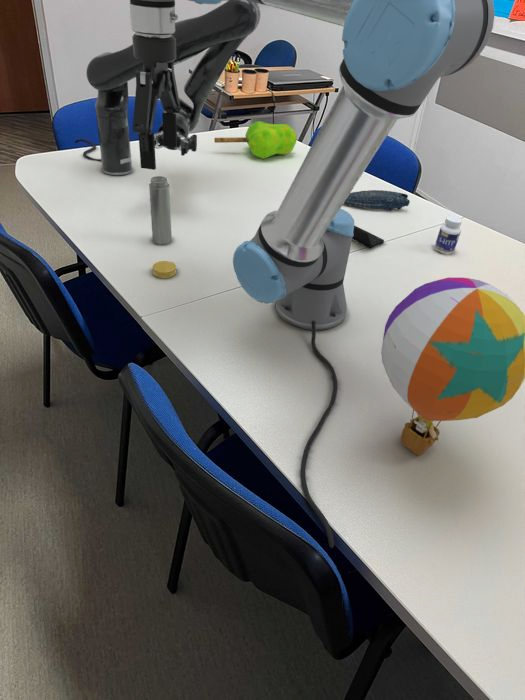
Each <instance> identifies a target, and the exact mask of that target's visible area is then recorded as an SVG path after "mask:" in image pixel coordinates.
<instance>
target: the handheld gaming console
mask: <svg viewBox="0 0 525 700" xmlns="http://www.w3.org/2000/svg"><path fill="white" fill-rule="evenodd" d="M353 234H354V236H353V238H352V241H355V242H356V243H358V244H360V245H361V246H364V247H366V248H368V249H369V250H371V249H373V248H375V247H378V246H381V245H383V244H385V243H384V242H385V239H383V238H381V237H379V236H377V235H375V234H373V233H372V232H369V231H367V230H365V229H362V228H361V227H358V226H357V225H355V224H354V230H353Z"/></svg>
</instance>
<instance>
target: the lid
mask: <svg viewBox="0 0 525 700" xmlns="http://www.w3.org/2000/svg"><path fill="white" fill-rule="evenodd" d="M152 274H153V275H154V277H156V278H158V279H171V278H173V277H175V276H176V274H177V265H176V264H175V263H174V262H172V261H168V260H161V261H157V262H155V263H154V264H152Z"/></svg>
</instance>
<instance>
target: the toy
mask: <svg viewBox="0 0 525 700" xmlns="http://www.w3.org/2000/svg"><path fill="white" fill-rule="evenodd" d="M381 343H382V344H381V351H380V355H381V363H382V366H383V369H384V371H385V374H386V375H387V378H388V380H389V382H390V384H391V386H392V388H393V389H394V391H395V392H396V393H397V395H399V397H400V398H401V399H402V400H403V401H404V402H405V403H406V404H407V405H408V406H409V407H410V408H411V409H412V414H411V418H410V421H409V422H405V423H404V427H403V428H402V432H401V437H400V443H401V444H402V445H403V446H404V447H406V449H408V450H410V451H411V452H412V453H413V454H415V455H416V456H422V455H423V454H424V453H425V452H427V451H428V450H429V449H430V448H431V447H433V446H434V444H435V443H436V441H439V435H440V430H439V428H438V426H440V424H441V422H451V421H453V422H454V421H463V420H470V419H477V418H480V417H482V416H484V415H486V414H488V413H490V412H493V411H495V410H497V409H499V408H501V407H504V406H505V405H506V404H507V403H508V402H509V401H511V400H512V399H513V398H514V397H515V395H516V393H517V392H518V391H519V389H520V388H521V386H522V384H523V383H524V381H525V313H524V312H523V311H522V309H521V308H520V307H519V306H518V305H517V304H516V302H514V300H513V299H512V298H511V297H510V296H509V295H508V293H506V292H504V291H502V290H501V289H499V288H498V287H496V286H494V285H493V284H490V283H488V282H485V281H483V280H479V279H475V278H469V277H445V278H440V279H437V280H433V281H430V282H426V283H424V284H422V285H420V286H418V287H416V288H414V289H413V290H412V291H411V292H410V293H409V294H407V296H405V298H403V299H402V300H401V301H400V302H398V304H397V305H396V306H394V308H393V310H392V311H391V312H390V314H389V316H388V318H387V320H386V322H385V325H384V331H383V338H382V342H381ZM414 412H416V414H417V416H416V417H414V414H415V413H414ZM433 422H438V423H437V425H436V426H435V424H434V423H433Z"/></svg>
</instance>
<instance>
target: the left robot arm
mask: <svg viewBox="0 0 525 700" xmlns="http://www.w3.org/2000/svg"><path fill="white" fill-rule="evenodd" d="M260 21H261V8H260V5H259V3H255V2H252V1H247V0H226V1H225V2H224V3H222V4H221V5H219V6H218V7H216V8H213V9H212V10H211V11H208V12H206V13H204V14H201V15H199V16H196V17H190V18H186V19H183V20H178V21H175V33H174V34H172V36H174V37H175V39H176V59H175V61H173V62H174V66H176V65H178V64H180V63H183V62H185V61H188V60H190V59H192V58H193V57H196V56H198V55H199V54H201V53H203V52H204V51H205V53H204V54H203V56H202V57H201V58H200V59H199V61H198V62H197V64H196V65H195V67H194V69H193V70H192V72H191V74H190V75H189V77H188V79H187V81H186V82H185V84H184V86H183V91H184V94H185V95H186V96H187V98H188V99H189V100H190V101H191V102H192V106H191V105H190V104H189V103H188V102H186V101H185V100H183V99H182V98H181V97H179V102H180V106H179V108H181V112H180V113H175V114H176V120H177V148H172V147H165V146H164V141H163V121H162V122H161V124H160V126H159V128H158V131H157V132H155V133H154V142H155V150H159V149H163V148H164V149H165V148H166V149H167V150H170V151H177V150H178V151H180V156H182V157H183V156H184V157H185V155H187V154H188V153H189V152H190V150H191V152H193V153H194V152H197V149H198V136H197V134H192V135H190V136H189V134H190V133H192V132H194V131H195V130H196V128H197V126H198V125H199V121H200V117H201V113H202V110H203V107H204V105H205V102H206V101H207V99H208V97H209V95H211V93H212V91H213V89H214V88H215V86H216V85H217V83H218V81H219V79H220V77H221V76H222V75H223V72H224V71H225V70H226V69H225V68H226V67H227V65H228V64H229V62H230V60H231V58H232V57H233V55H234V54H235V52H236V51H237V50H238V48H240V46H241V44H242V43H244V41H245V40H246V38H247V37H248V36H250V35H251V34H252V33H253V32H254V31H255V30H256V29H257V28H258V26H259V24H260ZM143 65H144V64H143V62H142V61H141V60H137V59H136V58H135V57H134V54H133V43H132V44H131V45H129V46H127V47H126V48H123V49H121V50H117V51H115V52H110V51H108V52H102V53H101V54H98V55H95V56H94V57H92V58H91V60H90V61H89V62H88V64H87V67H86V79H87V81H88V83H89V85H91V87H92V88H93V89H95V90H97V96H96V97H97V98H96V101H95V104H94V108H95V117H96V126H97V134H98V142H99V151H100V158H94V157H91V156H89V155H87V154H89V153H90V152H92V151H95V150H96V148H97V145H96V144H95V143H94V142H92V141H90V140H88V139H85V138H77V139H75V141H74V143H75V144H77V143H79V142H84V143H87V144H89V145H91V146H92V147H91V148H89V149H86V150H84V152H82V155H83V157H85V158H86V159H87V160H90V161H95V162H101V169H102V171H101V172H103V173H104V174H105V175H109V176H125V175H129V174H131V173H132V172H133V166H132V153H131V152H132V151H131V141H130V140H131V139H130V128H129V115H128V106H129V83H128V82H130V81H131V80H134V79H136V71H143ZM174 100H175V99H174ZM163 113H166V112H165V111H164V110H163Z"/></svg>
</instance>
